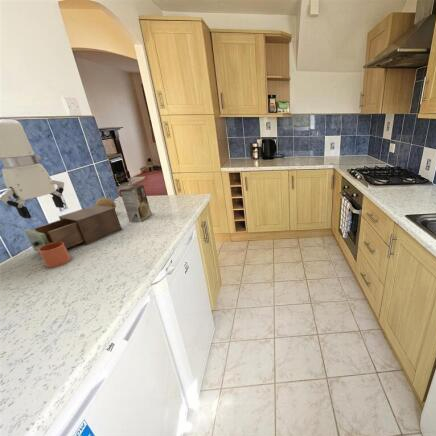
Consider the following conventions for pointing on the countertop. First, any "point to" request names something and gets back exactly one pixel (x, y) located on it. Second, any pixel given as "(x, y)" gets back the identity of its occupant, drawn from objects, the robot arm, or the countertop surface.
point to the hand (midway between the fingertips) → (44, 212)
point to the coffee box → (135, 202)
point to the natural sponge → (106, 202)
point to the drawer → (55, 234)
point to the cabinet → (95, 222)
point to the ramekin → (54, 254)
